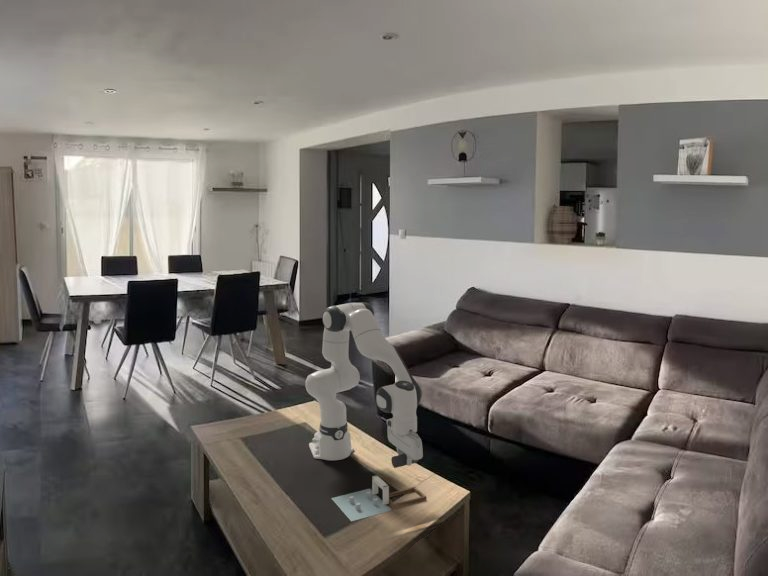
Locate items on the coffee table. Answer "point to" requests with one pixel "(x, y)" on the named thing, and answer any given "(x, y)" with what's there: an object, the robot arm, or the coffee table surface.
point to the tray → (421, 498)
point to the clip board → (360, 504)
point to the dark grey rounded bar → (400, 460)
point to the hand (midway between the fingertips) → (404, 462)
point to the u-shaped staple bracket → (379, 482)
